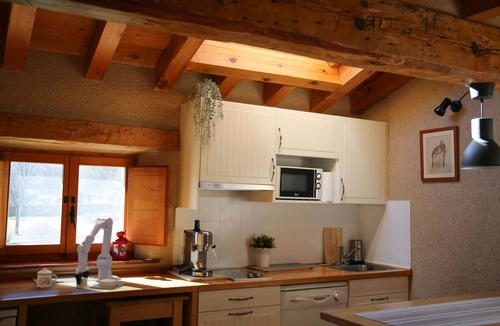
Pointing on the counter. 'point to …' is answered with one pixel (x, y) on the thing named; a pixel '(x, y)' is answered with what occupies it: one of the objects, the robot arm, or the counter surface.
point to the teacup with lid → (45, 278)
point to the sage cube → (82, 282)
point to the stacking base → (108, 284)
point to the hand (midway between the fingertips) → (81, 283)
